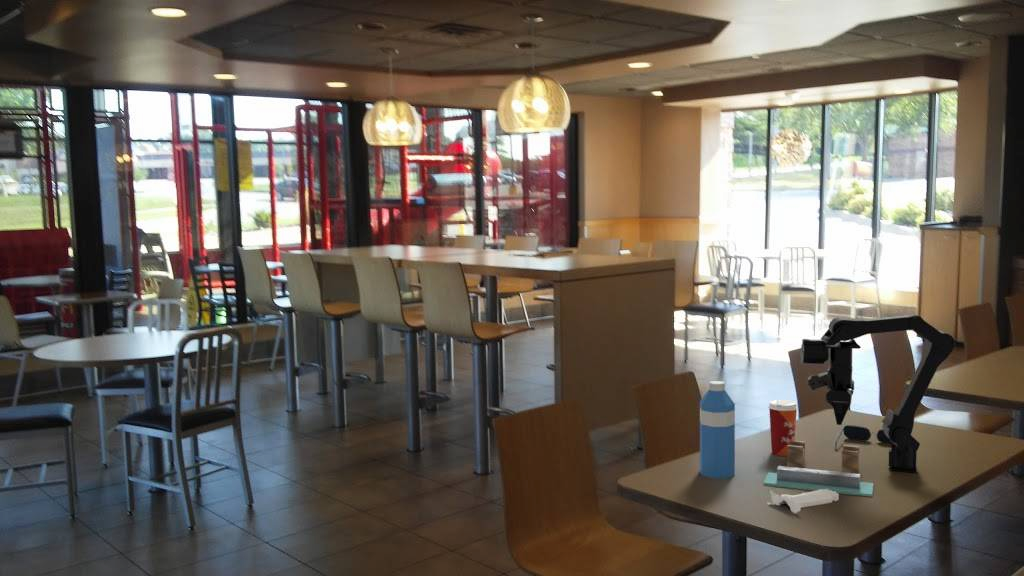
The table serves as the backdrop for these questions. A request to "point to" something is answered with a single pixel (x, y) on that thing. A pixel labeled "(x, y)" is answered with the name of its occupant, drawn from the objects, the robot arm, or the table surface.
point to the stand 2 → (850, 459)
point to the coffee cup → (782, 425)
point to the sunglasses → (862, 434)
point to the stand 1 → (796, 454)
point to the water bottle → (717, 432)
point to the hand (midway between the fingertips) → (840, 420)
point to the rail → (818, 477)
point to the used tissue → (805, 499)
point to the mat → (820, 486)
